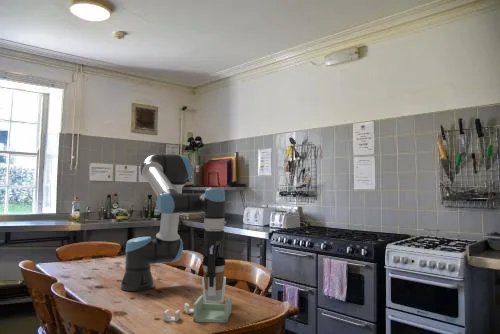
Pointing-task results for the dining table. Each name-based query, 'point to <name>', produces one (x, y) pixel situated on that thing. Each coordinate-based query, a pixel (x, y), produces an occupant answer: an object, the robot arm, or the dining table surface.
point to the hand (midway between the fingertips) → (213, 292)
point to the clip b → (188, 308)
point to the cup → (217, 300)
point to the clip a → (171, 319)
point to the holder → (211, 311)
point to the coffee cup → (219, 278)
